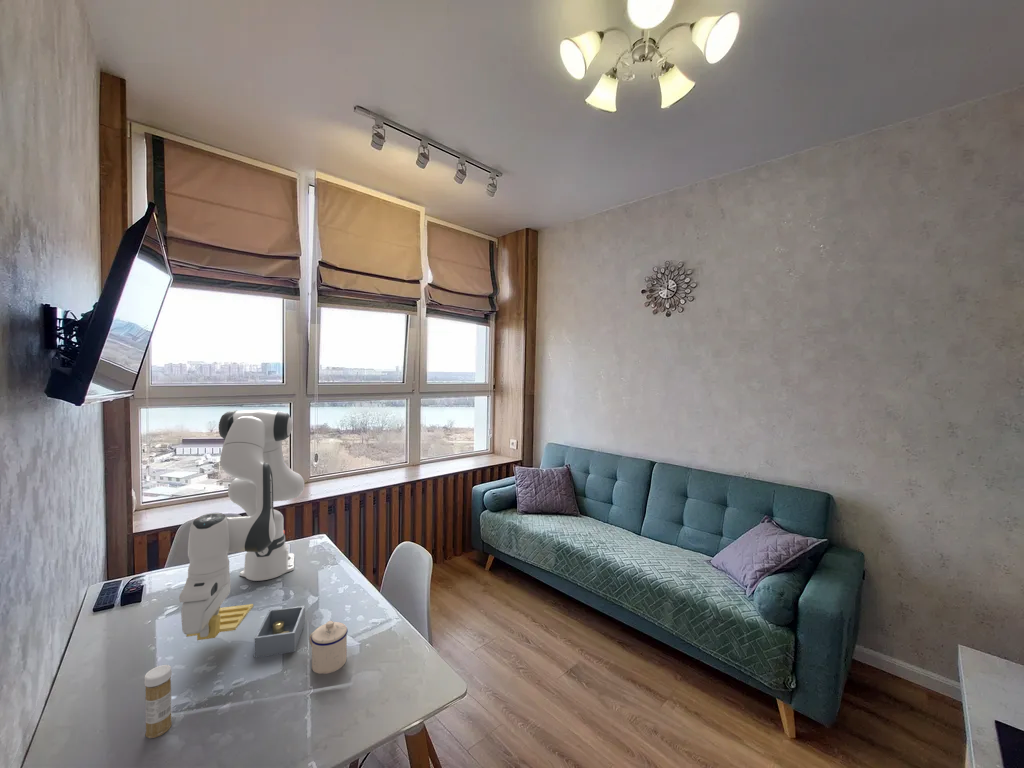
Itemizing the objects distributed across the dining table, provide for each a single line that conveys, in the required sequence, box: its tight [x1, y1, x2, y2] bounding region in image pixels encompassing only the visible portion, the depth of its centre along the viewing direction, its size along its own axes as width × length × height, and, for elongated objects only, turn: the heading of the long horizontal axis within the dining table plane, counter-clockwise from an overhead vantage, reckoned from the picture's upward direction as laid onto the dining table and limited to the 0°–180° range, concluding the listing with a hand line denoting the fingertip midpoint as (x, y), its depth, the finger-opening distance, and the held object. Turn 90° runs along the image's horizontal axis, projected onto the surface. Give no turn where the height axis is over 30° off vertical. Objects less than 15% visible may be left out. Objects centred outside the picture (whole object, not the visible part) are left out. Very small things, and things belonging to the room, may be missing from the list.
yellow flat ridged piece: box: [185, 603, 254, 641], centre depth 117 cm, size 18×11×4 cm, turn 16°
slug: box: [273, 621, 284, 635], centre depth 125 cm, size 3×3×3 cm
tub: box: [253, 605, 306, 658], centre depth 122 cm, size 14×10×6 cm
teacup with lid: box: [309, 620, 348, 675], centre depth 114 cm, size 12×9×12 cm
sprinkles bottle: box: [144, 664, 173, 739], centre depth 92 cm, size 5×5×13 cm
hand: (209, 629), depth 109 cm, fingers closed on yellow flat ridged piece, 3 cm apart
